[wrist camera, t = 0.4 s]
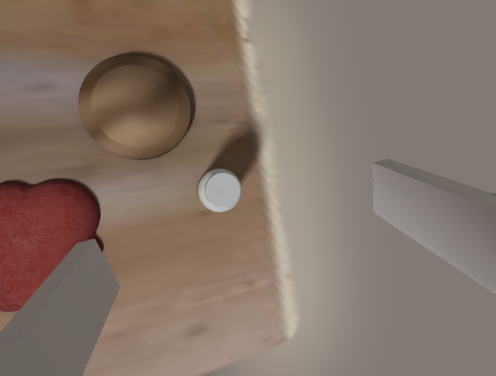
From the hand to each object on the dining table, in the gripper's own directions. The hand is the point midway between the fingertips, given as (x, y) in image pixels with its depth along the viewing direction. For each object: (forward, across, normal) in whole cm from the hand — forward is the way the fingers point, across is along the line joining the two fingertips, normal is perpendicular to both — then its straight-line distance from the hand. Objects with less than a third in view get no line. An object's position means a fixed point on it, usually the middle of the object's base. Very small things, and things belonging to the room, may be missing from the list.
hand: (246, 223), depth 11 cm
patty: (+22, -25, -8) cm, 34 cm away
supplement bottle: (+25, -2, -7) cm, 26 cm away
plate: (+28, -9, +6) cm, 30 cm away
